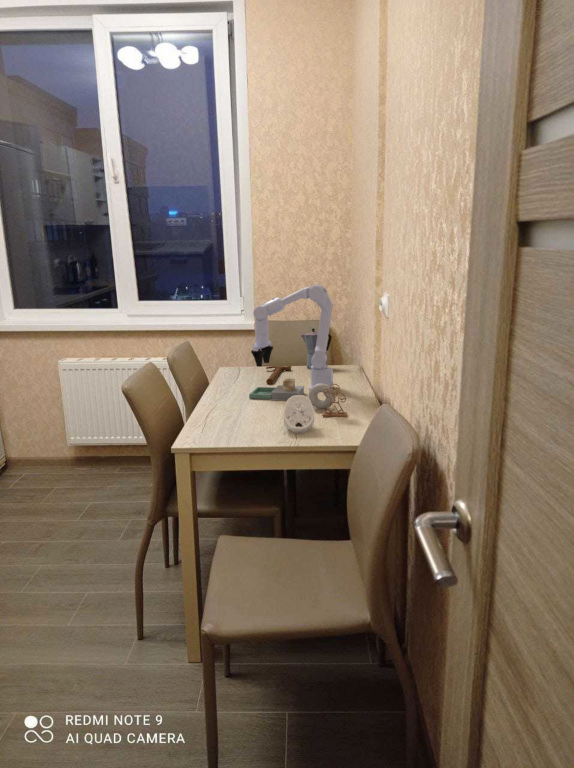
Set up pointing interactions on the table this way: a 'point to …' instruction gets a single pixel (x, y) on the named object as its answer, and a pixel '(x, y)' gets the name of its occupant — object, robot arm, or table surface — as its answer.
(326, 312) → the robot arm
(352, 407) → the table surface
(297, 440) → the table surface
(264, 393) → the box
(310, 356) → the moka pot
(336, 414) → the gingerbread man figurine
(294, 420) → the skull bowl
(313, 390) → the donut
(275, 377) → the hammer
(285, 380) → the maple block
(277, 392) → the slate plate
